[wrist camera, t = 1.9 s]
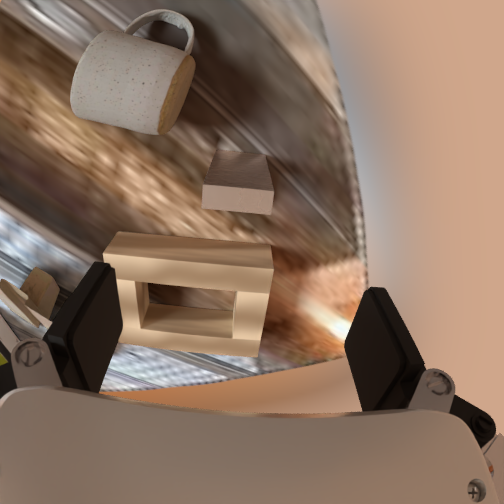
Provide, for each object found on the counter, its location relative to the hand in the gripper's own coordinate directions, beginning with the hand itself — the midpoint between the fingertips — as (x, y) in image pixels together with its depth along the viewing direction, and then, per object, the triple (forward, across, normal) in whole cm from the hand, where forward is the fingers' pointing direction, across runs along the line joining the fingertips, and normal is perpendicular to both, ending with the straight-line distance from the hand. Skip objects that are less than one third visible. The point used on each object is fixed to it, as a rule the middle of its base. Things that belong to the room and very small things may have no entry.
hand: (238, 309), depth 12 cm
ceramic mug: (+20, +9, -9) cm, 24 cm away
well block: (+20, +4, +14) cm, 25 cm away
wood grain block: (+20, 0, +1) cm, 20 cm away
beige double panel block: (+20, +24, +19) cm, 37 cm away
